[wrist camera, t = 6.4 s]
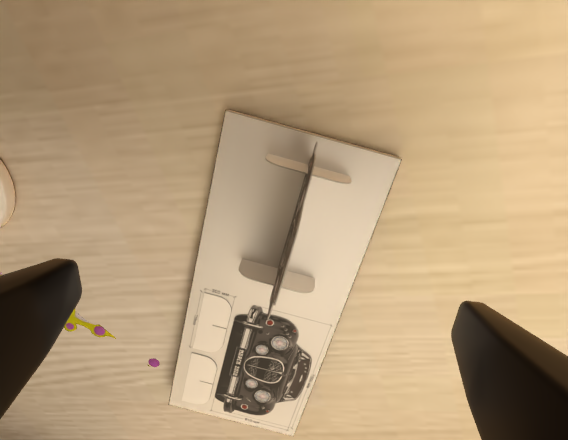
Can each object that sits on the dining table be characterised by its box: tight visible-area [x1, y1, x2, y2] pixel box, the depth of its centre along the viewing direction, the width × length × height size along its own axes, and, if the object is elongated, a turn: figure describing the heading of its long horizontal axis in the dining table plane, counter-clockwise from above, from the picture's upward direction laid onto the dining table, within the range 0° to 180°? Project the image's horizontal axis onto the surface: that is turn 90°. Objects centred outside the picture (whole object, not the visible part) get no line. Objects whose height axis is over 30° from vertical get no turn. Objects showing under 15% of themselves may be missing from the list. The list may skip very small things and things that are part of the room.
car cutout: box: [169, 109, 402, 437], centre depth 14 cm, size 15×7×4 cm, turn 165°
